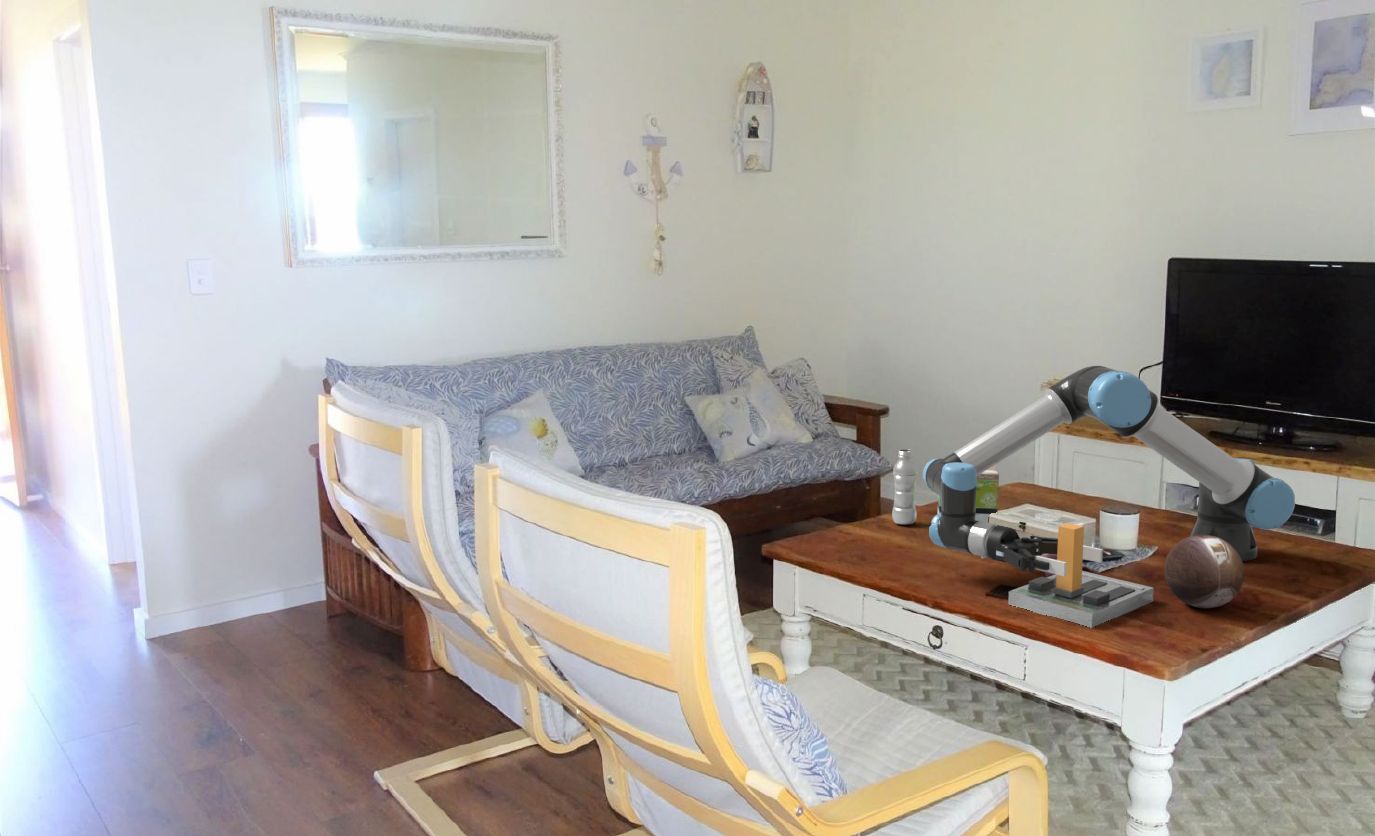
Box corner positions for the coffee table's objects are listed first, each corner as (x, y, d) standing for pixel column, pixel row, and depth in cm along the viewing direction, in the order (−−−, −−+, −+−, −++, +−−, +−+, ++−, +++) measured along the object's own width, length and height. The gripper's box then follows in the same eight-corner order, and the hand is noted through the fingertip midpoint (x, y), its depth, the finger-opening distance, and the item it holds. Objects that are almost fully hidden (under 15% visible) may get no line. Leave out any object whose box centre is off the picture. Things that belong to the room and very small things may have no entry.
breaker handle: (1066, 588, 238) (1068, 522, 236) (1083, 592, 235) (1086, 526, 233) (1053, 593, 235) (1055, 526, 233) (1070, 598, 232) (1073, 530, 230)
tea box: (939, 526, 302) (940, 471, 300) (937, 516, 312) (938, 463, 310) (997, 527, 300) (999, 472, 298) (993, 518, 310) (995, 464, 307)
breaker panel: (1071, 581, 254) (1072, 561, 253) (1152, 601, 239) (1154, 580, 239) (1008, 605, 238) (1009, 584, 238) (1091, 628, 224) (1092, 605, 223)
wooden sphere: (1204, 622, 226) (1208, 549, 224) (1146, 600, 240) (1150, 531, 238) (1258, 611, 232) (1263, 540, 230) (1199, 591, 246) (1203, 523, 243)
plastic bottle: (889, 526, 303) (890, 452, 300) (894, 520, 309) (895, 447, 306) (913, 528, 301) (915, 453, 297) (918, 521, 307) (920, 448, 304)
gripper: (1027, 547, 256) (1115, 568, 240) (959, 570, 240) (1048, 593, 224) (1028, 515, 255) (1116, 533, 239) (960, 535, 239) (1050, 556, 223)
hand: (1084, 562), depth 232 cm, fingers open, 13 cm apart
